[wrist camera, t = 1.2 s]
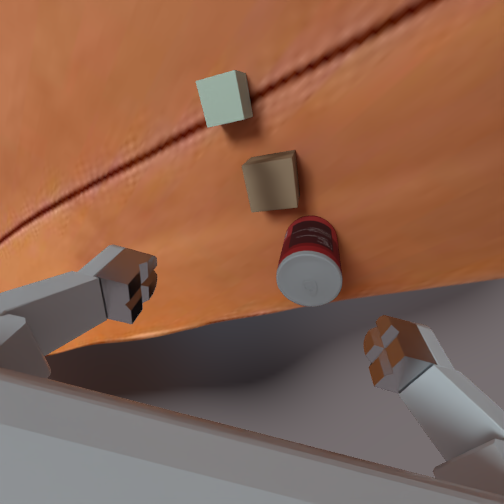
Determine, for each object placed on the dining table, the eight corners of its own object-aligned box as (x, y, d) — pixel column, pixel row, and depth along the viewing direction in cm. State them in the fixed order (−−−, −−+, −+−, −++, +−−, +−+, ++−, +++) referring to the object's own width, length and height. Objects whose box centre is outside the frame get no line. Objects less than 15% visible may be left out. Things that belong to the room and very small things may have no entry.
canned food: (303, 266, 41) (298, 314, 32) (275, 229, 38) (262, 270, 29) (347, 245, 37) (356, 294, 28) (319, 204, 35) (319, 242, 26)
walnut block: (295, 149, 32) (291, 157, 28) (299, 194, 35) (297, 207, 31) (251, 157, 33) (241, 165, 29) (259, 199, 36) (251, 212, 32)
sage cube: (245, 73, 28) (234, 70, 25) (253, 116, 31) (244, 119, 27) (210, 82, 30) (195, 81, 26) (220, 123, 32) (207, 127, 28)
